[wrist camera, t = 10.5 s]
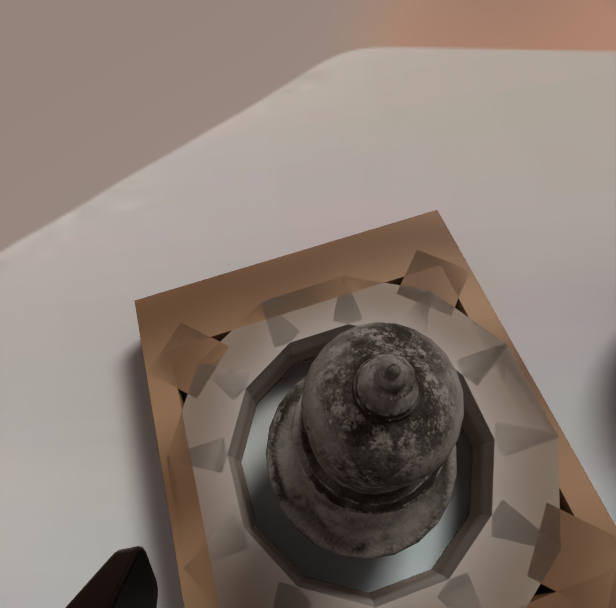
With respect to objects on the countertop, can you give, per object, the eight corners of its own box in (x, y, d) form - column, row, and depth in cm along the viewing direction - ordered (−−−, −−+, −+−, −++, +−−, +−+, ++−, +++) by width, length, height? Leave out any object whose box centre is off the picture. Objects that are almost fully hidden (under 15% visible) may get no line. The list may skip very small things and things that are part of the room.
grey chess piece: (250, 495, 16) (89, 461, 6) (322, 362, 19) (308, 151, 8) (394, 584, 15) (555, 769, 4) (456, 429, 17) (667, 285, 6)
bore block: (635, 639, 14) (692, 663, 12) (244, 800, 13) (225, 861, 11) (425, 242, 21) (437, 210, 19) (157, 324, 20) (134, 300, 17)
